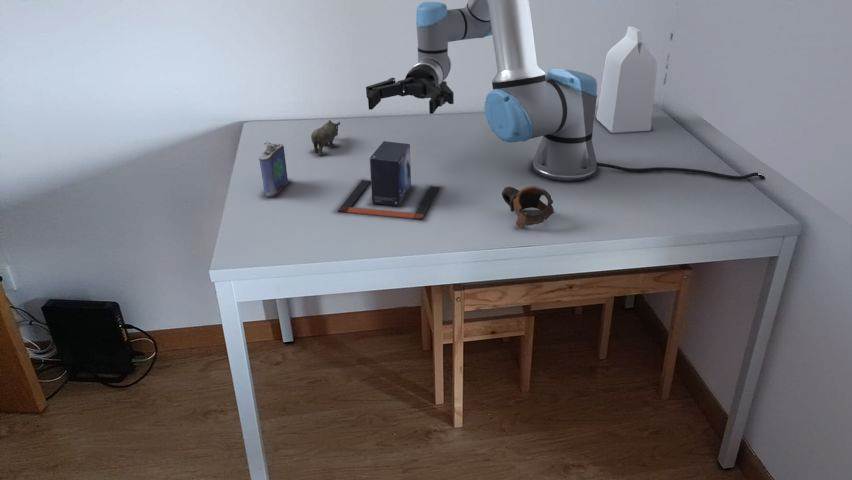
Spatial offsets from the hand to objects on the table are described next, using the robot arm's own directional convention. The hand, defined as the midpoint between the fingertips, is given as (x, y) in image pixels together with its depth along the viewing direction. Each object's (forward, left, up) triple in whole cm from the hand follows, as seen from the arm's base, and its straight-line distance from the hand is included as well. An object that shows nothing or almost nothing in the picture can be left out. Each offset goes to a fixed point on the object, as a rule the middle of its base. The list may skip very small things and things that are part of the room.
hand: (400, 105), depth 150 cm
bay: (0, +11, -17) cm, 20 cm away
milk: (-50, -50, -18) cm, 73 cm away
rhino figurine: (+24, -16, -18) cm, 34 cm away
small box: (0, +9, -18) cm, 20 cm away
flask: (+26, +11, -18) cm, 33 cm away
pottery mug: (-30, +14, -18) cm, 37 cm away
